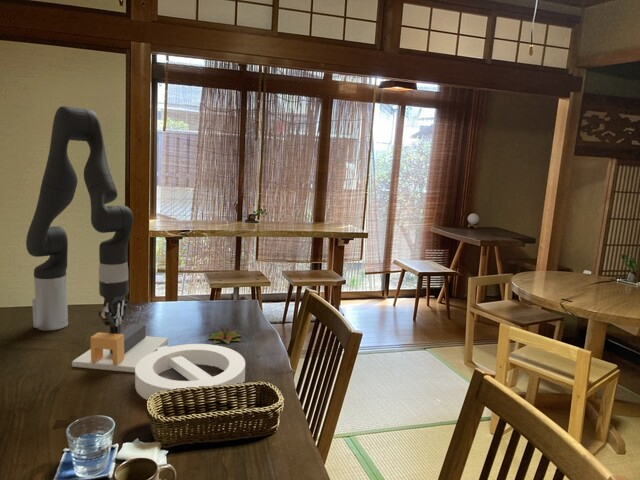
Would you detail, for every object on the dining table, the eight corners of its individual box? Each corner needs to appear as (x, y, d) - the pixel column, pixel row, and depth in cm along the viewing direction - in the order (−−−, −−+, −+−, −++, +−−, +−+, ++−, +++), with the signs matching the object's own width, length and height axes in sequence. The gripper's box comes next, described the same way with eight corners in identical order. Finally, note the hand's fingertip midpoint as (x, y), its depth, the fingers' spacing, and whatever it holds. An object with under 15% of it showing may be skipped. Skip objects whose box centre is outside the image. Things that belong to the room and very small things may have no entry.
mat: (72, 366, 134) (72, 361, 134) (113, 337, 156) (113, 333, 155) (135, 372, 132) (135, 367, 132) (168, 342, 154) (168, 338, 154)
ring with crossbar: (158, 356, 144) (158, 341, 143) (252, 362, 144) (253, 347, 143) (116, 403, 117) (115, 385, 116) (232, 411, 116) (233, 392, 115)
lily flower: (246, 344, 157) (247, 330, 156) (209, 348, 153) (209, 334, 152) (239, 331, 168) (239, 318, 167) (203, 334, 164) (203, 321, 163)
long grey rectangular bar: (110, 353, 140) (109, 340, 139) (133, 336, 154) (133, 324, 153) (123, 354, 140) (123, 341, 139) (145, 337, 153) (145, 325, 153)
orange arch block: (91, 361, 133) (90, 337, 132) (99, 355, 137) (98, 332, 136) (117, 364, 133) (116, 339, 132) (124, 358, 137) (123, 334, 136)
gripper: (113, 271, 142) (114, 328, 145) (87, 283, 129) (89, 345, 132) (138, 273, 141) (138, 330, 144) (114, 285, 128) (116, 347, 131)
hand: (115, 337), depth 138 cm, fingers closed
